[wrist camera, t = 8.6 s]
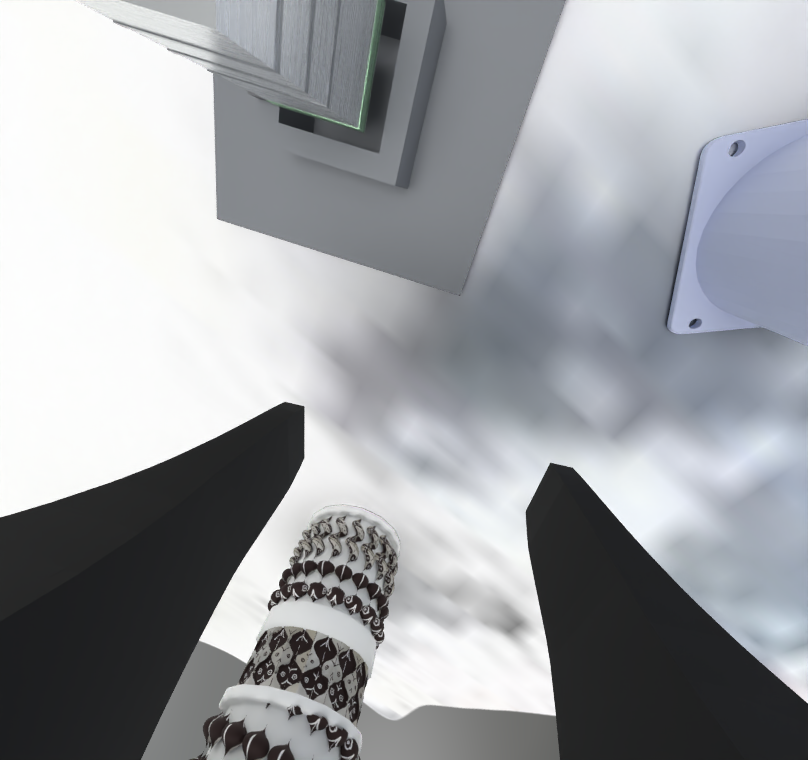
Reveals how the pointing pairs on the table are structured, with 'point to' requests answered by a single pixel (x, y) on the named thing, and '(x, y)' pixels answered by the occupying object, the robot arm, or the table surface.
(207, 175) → the table surface
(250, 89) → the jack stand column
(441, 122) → the grey socket base
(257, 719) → the decorative candle
